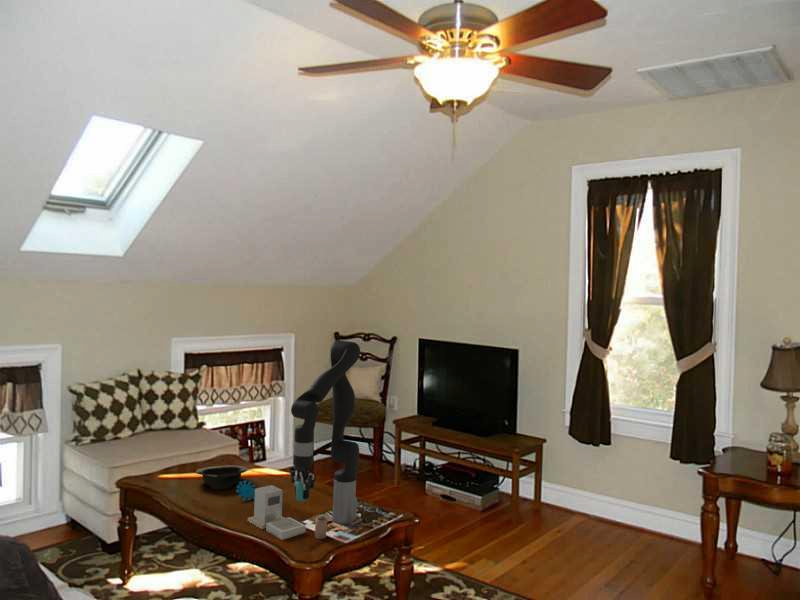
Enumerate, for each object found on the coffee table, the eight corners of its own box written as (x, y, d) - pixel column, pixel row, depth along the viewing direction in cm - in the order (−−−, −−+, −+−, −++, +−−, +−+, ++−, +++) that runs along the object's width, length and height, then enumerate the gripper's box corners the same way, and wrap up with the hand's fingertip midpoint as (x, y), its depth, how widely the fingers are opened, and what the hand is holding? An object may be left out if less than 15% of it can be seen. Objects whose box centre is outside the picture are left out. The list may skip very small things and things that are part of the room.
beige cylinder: (321, 533, 260) (322, 514, 259) (328, 537, 257) (329, 517, 256) (312, 536, 257) (313, 516, 256) (319, 539, 253) (320, 519, 253)
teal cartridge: (303, 496, 254) (303, 476, 254) (309, 499, 251) (310, 479, 251) (293, 498, 251) (294, 478, 251) (300, 502, 248) (301, 481, 248)
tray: (289, 524, 267) (289, 517, 267) (305, 532, 259) (305, 525, 259) (266, 530, 260) (266, 523, 260) (281, 539, 252) (282, 532, 252)
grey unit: (272, 514, 277) (273, 483, 277) (287, 522, 269) (288, 490, 269) (247, 521, 269) (248, 488, 268) (262, 529, 261) (263, 496, 260)
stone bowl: (221, 496, 297) (221, 475, 297) (184, 488, 310) (183, 469, 310) (260, 481, 318) (259, 462, 318) (223, 475, 331) (222, 457, 331)
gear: (239, 500, 288) (235, 479, 294) (234, 506, 292) (230, 486, 298) (262, 499, 295) (258, 479, 301) (256, 505, 298) (252, 485, 304)
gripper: (284, 450, 253) (282, 494, 253) (306, 458, 242) (305, 504, 243) (300, 447, 258) (298, 490, 259) (322, 455, 248) (321, 500, 249)
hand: (301, 496), depth 251 cm, fingers closed on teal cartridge, 4 cm apart
